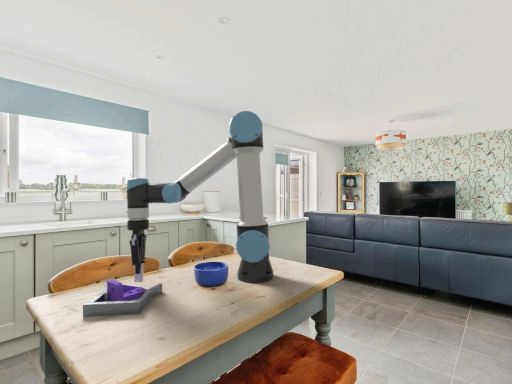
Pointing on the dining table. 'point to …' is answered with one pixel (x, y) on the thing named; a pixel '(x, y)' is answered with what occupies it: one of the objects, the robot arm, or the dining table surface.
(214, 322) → the dining table surface
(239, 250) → the robot arm
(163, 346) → the dining table surface
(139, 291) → the bracket
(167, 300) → the dining table surface
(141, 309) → the spouted tray
